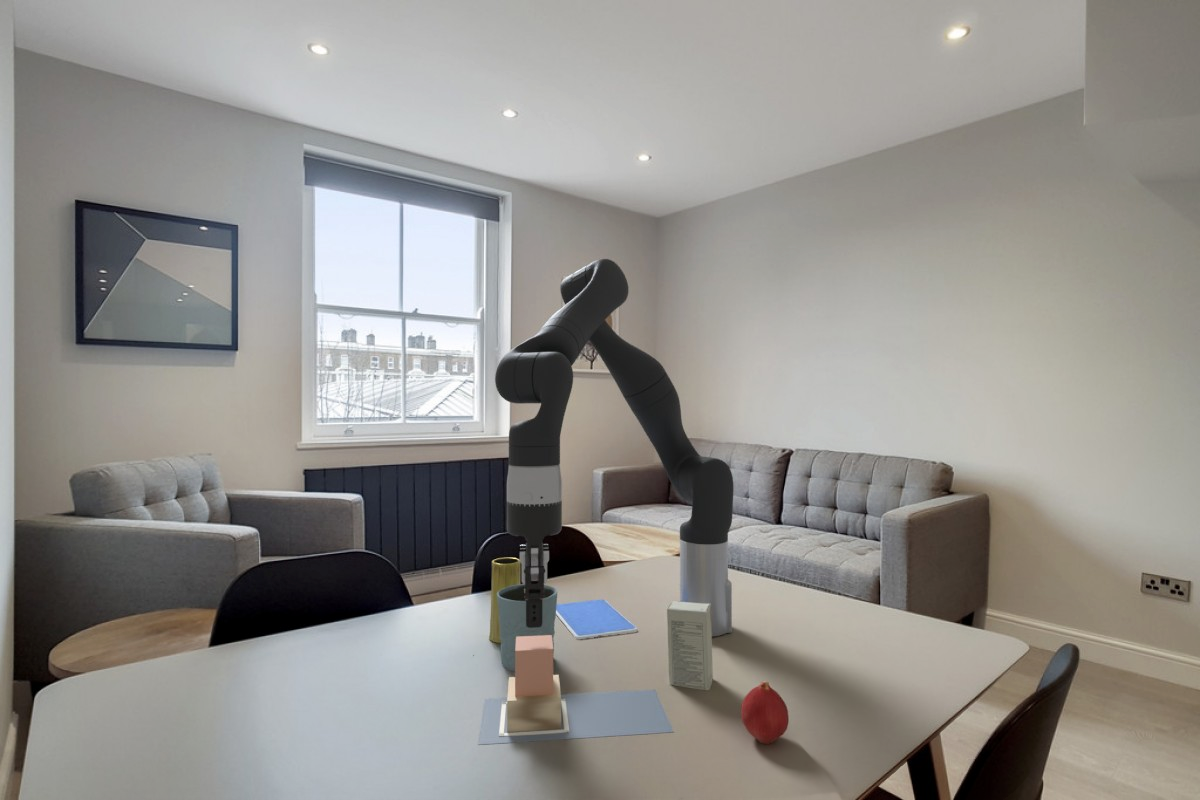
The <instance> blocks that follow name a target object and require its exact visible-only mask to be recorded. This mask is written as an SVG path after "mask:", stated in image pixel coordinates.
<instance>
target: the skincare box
mask: <svg viewBox="0 0 1200 800" xmlns="http://www.w3.org/2000/svg"><path fill="white" fill-rule="evenodd" d="M666 615H667V619H666V620H667V621H666V622H667V649H668V650H667V651H668V652H667V653H668V654H667V656H668V681H669V682H668V683H669V685H670V686H675V687H681V688H687V689H695V690H702V691H710V689H711V686H712V684H713V680H714V677H713V676H714V675H713V673H714V672H713V641H712V640H713V636H712V631H711V604H706V603H694V602H681V601H680V600H679V601H677V600H673V601H672V602H671V603H670V604H669V605H668V606H667V608H666Z"/></svg>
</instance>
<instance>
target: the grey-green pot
mask: <svg viewBox="0 0 1200 800" xmlns="http://www.w3.org/2000/svg"><path fill="white" fill-rule="evenodd" d="M524 589H525V585H524V584H523V583H522V584H521V583H520V585H514V586H509V587H506V588H503V589H501V590H500V591H498V593H497V602H498V611H499V623H500V640H501V643H500V657H501V659H500V661H501V665H502V666H503V668H505V669H507V670H511V671H514V672H515V646H516V637H519V636H542V635H552V642H553V657H554V654H555V642H554V641H555V640H554V636H555V633H556V631H555V622H556V616H557V615H556V605H557V603H558V589H556V587H553V586H551V585H546V584H544V592H545V596H544V599H542V626H541V627H537V628H528V627H527V626H526V600H525V597H524Z"/></svg>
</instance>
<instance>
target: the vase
mask: <svg viewBox="0 0 1200 800" xmlns="http://www.w3.org/2000/svg"><path fill="white" fill-rule="evenodd" d="M514 585H521V562H520V558H517V557H511V556H510V557H508V556H507V557H498V558H496V559H493V560H491V593H490V595H491V596H490V618H489V619H490V620H489V622H490V623H489V624H490V626H489V636H488V639H489V640H490V641H491V642H493V643H496V644H501V640H500V623H499V611H498V602H497V593H498V591H500V590H501V589H503V588H506V587H509V586H514Z"/></svg>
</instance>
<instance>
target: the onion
mask: <svg viewBox="0 0 1200 800" xmlns="http://www.w3.org/2000/svg"><path fill="white" fill-rule="evenodd" d="M740 714H741V715H740V716H741V721H742V724H743V726H744V727H745V729H746V730H747V732H748V733H749V735H751V736H752V737H753V738H755V739H756V740H757V742H759V743H761V744H767V745H768V744H772V743H773V742H775V741H776V740H778V739H779V738H781V736H783V735H784V734H785V732H786V731H787V729H788V726H789V720H790V719H789V711H788V707H787V703H786V702H785V701H784V700H783V698H782V697H781V695H780V693H779V692H778V691H776V690H775V689H773V688H772V687H771V686H770V685H769V681H766V680H762V681H761V683H760V684H759V685H758V686H756V687H754V688H752V689H751V690H750V691H749V692H748V693H747V694H746V695H745V696H744V699H743V700H742V704H741V713H740Z"/></svg>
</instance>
